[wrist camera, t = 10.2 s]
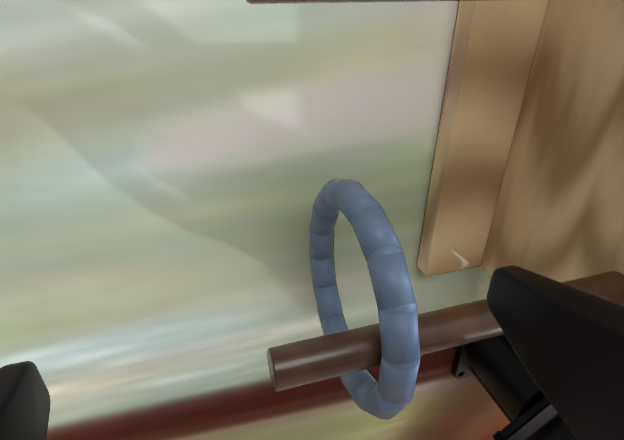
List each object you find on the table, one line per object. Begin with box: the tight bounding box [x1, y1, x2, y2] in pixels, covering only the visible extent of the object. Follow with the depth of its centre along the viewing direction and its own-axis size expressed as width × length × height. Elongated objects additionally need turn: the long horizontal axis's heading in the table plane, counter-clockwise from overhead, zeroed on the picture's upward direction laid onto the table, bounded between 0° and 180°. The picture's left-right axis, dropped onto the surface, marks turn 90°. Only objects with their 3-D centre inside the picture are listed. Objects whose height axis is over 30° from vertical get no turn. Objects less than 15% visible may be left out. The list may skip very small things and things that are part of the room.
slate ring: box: [310, 179, 420, 419], centre depth 17 cm, size 9×1×9 cm, turn 0°
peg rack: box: [246, 0, 624, 391], centre depth 16 cm, size 22×17×11 cm
